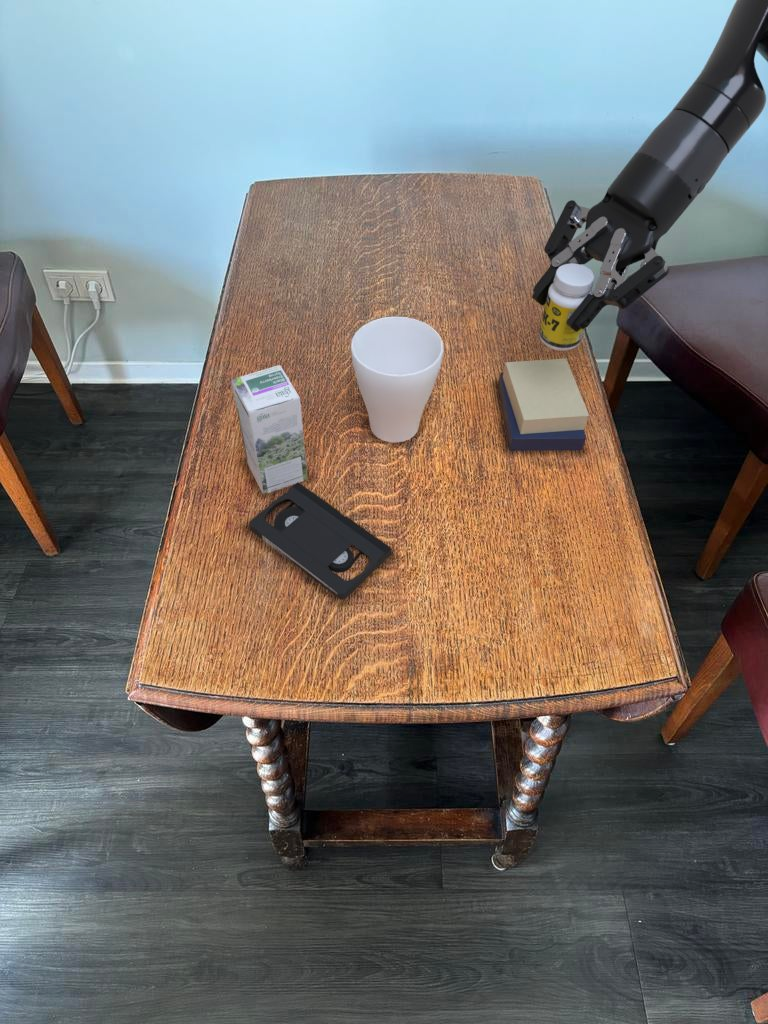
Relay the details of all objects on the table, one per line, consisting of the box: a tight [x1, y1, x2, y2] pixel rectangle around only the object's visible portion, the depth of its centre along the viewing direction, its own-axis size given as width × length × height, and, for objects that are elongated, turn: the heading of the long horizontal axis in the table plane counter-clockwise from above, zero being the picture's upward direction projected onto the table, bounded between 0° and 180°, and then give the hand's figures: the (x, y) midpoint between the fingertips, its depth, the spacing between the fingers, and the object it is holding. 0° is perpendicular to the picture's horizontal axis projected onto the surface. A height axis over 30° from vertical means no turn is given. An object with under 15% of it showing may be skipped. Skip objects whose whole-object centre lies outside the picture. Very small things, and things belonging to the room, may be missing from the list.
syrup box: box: [230, 364, 308, 495], centre depth 81 cm, size 6×6×14 cm
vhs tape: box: [249, 482, 392, 601], centre depth 80 cm, size 14×8×2 cm, turn 49°
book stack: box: [497, 357, 590, 452], centre depth 91 cm, size 12×9×6 cm
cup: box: [350, 315, 444, 444], centre depth 87 cm, size 10×10×14 cm
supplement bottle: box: [538, 263, 595, 352], centre depth 79 cm, size 5×5×8 cm
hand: (554, 314), depth 78 cm, fingers closed on supplement bottle, 4 cm apart
